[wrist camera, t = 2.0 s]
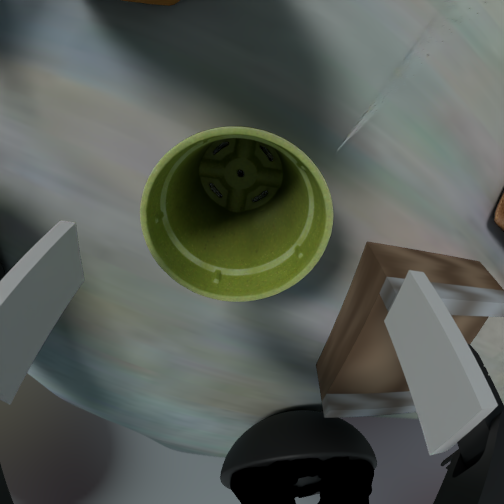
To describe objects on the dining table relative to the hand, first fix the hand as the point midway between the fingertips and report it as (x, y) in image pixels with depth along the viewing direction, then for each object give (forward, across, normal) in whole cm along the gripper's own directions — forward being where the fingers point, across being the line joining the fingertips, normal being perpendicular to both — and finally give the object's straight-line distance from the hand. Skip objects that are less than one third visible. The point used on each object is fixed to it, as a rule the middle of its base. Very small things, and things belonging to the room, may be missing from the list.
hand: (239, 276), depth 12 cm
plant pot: (+13, -1, 0) cm, 13 cm away
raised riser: (+13, +17, -12) cm, 25 cm away
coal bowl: (+13, +11, -33) cm, 37 cm away
